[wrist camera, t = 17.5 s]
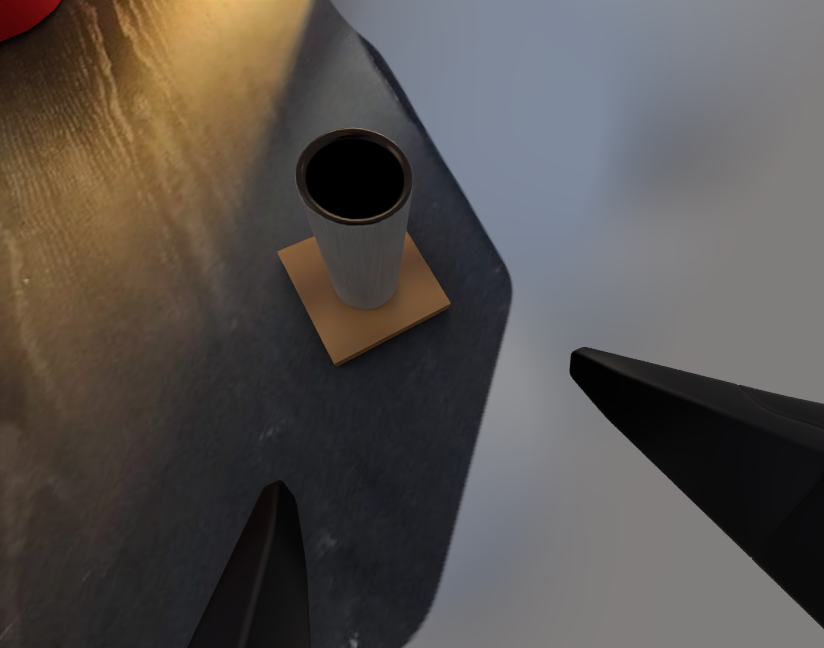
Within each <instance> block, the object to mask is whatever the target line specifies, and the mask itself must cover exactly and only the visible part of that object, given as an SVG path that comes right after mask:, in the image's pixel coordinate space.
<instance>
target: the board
mask: <svg viewBox="0 0 824 648" xmlns="http://www.w3.org/2000/svg"><path fill="white" fill-rule="evenodd" d="M277 253H278V255H279V257H280V259H281V261H282V263H283V265H284V267H285V269H286V271H287V273H288V275H289V276H290V278H291V280H292V282H293V284H294V286H295V288H296V290H297V292H298V294H299V296H300V298H301V300H302V302H303V304H304V306H305V308H306V310H307V312H308V314H309V316H310V318H311V320H312V322H313V324H314V326H315V328H316V330H317V331H318V333H319V335H320V337H321V339H322V341H323V343H324V345H325V347H326V349H327V351H328V353H329V355H330V357H331V359H332V361H333V363H334V364H335V365H336V366H339V365H341V364H343V363H345V362H347V361H349V360H351V359H353V358H355V357H357V356H358V355H360V354H362V353H364V352H366V351H368V350H370V349H372V348H374V347H376V346H377V345H379V344H381V343H383V342H385V341H387V340H389V339H391V338H393V337H395V336H396V335H398V334H400V333H402V332H404V331H406V330H408V329H410V328H412V327H414V326H416V325H417V324H419V323H421V322H423V321H425V320H427V319H429V318H431V317H433V316H435V315H436V314H438V313H440V312H442V311H444V310H446V309H447V308H448V307H449V306H450V304H451V303H450V301H449V300H448V298H447V296H446V295H445V293H444V291H443V290H442V288H441V286H440V285H439V283H438V281H437V280H436V278H435V277H434V275H433V273H432V272H431V270H430V268H429V267H428V265H427V263H426V262H425V260H424V259H423V257H422V255H421V254H420V252H419V250H418V249H417V247H416V245H415V244H414V242H413V241H412V239H411V237H410V236H409V234H408V232H407V231H406V235H405V242H404V248H403V254H402V261H401V267H400V274H399V280H398V285H397V288H396V291H395V293H394V295H393V296H392V298H391V299H390V300H389V301H388V302H387V303H385V304H384V305H382V306H380V307H378V308H375V309H369V310H362V309H356V308H353V307H351V306H349V305H347V304H346V303H344V302H343V301H342V300H341V299H340V298H339V297H338V295H337V293H336V292H335V290H334V288H333V285H332V282H331V280H330V277H329V274H328V272H327V269H326V266H325V264H324V261H323V258H322V255H321V253H320V250H319V247H318V245H317V242H316V239H315V236H314V237H311V238H309V239H306V240H304V241H302V242H299V243H297V244H294V245H292V246H290V247H287V248H285V249H283V250H280V251H278V252H277Z"/></svg>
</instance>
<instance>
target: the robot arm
mask: <svg viewBox="0 0 824 648" xmlns="http://www.w3.org/2000/svg"><path fill="white" fill-rule="evenodd" d="M570 375H571V377H572V378H573V380H574V381H575V382H576V383H577V384H578V386H579V387H580V388H581V389H582V390H583V391H584V393H585V394H586V395H587V396H588V397H589V398H590V400H591V401H592V402H593V403H594V404H595V405H596V406H597V408H598V409H599V410H600V411H601V412H602V413H603V414H604V416H605V417H606V418H607V419H608V420H609V421H610V422H611V423H612V424H613V425H614V426H615V427H617V429H618V430H619V431H620V432H622V433H623V434H624V435H625V436H626V437H627V438H628V439H629V440H630V441H631V442H632V443H633V444H634V445H635V446H636V447H637V448H638V449H639V450H640V451H641V452H642V453H643V454H644V455H645V456H646V457H647V458H648V459H649V460H650V461H651V462H652V463H653V464H655V466H657V467H658V468H659V469H660V470H661V471H662V472H663V473H664V474H665V475H666V476H667V477H668V478H669V479H670V480H671V481H672V482H673V483H674V484H675V485H676V486H677V487H678V488H679V489H680V490H681V491H682V492H683V493H684V494H686V496H687V497H689V498H690V499H691V500H692V501H693V502H694V503H695V504H696V505H697V506H698V507H699V508H700V509H701V510H702V511H703V512H704V513H705V514H706V515H707V516H708V517H709V518H710V519H711V520H712V521H713V522H714V523H715V524H716V525H717V526H718V527H719V528H721V529H722V530H723V531H724V532H725V533H726V534H727V535H728V536H729V537H730V538H731V539H732V540H733V541H734V542H735V543H736V544H737V545H738V546H739V547H740V548H741V549H742V550H743V551H744V552H745V553H746V554H747V555H748V556H749V557H751V558H752V560H753V561H754V562H755V563H756V564H757V565H758V566H759V567H760V568H761V569H763V570H764V571H765V572H766V573H767V574H768V575H769V576H770V577H771V578H772V579H773V580H774V581H775V582H776V583H777V584H778V585H779V586H780V587H781V588H782V589H783V590H784V591H785V592H786V593H787V594H788V595H789V596H790V597H792V599H793V600H795V601H796V602H797V603H798V604H799V605H800V606H801V607H802V608H803V609H804V610H805V611H806V612H807V613H808V614H809V615H810V616H811V617H812V618H813V619H814V620H815V621H816V622H817V623H818V624H819V625H820V626H821V627H822V628H823V629H824V404H821V403H817V402H812V401H807V400H802V399H798V398H793V397H788V396H784V395H779V394H776V393H771V392H767V391H762V390H758V389H754V388H750V387H746V386H742V385H737V384H734V383H730V382H726V381H721V380H718V379H714V378H710V377H705V376H701V375H697V374H693V373H689V372H685V371H681V370H677V369H673V368H669V367H665V366H661V365H657V364H653V363H649V362H645V361H641V360H637V359H632V358H628V357H624V356H620V355H616V354H612V353H608V352H604V351H600V350H596V349H592V348H587V347H582V348H579V349H577V350H575V351H573V352H572V354H571V360H570ZM187 648H311V647H310V626H309V605H308V585H307V569H306V560H305V553H304V547H303V541H302V534H301V528H300V522H299V515H298V509H297V503H296V500H295V497H294V496H293V494H292V493H291V492H290V490H289V489H288V488H287V486H286V485H285V484H284V482H283V481H281V480H278V481H276V482H273V483H271V484H269V485H267V486H265V487H264V488H263V490H262V492H261V494H260V496H259V498H258V500H257V502H256V504H255V506H254V508H253V511H252V513H251V515H250V517H249V519H248V521H247V523H246V525H245V527H244V529H243V532H242V534H241V536H240V538H239V540H238V542H237V544H236V546H235V548H234V550H233V553H232V555H231V557H230V559H229V561H228V563H227V565H226V567H225V569H224V571H223V574H222V576H221V578H220V580H219V582H218V584H217V586H216V588H215V590H214V592H213V595H212V597H211V599H210V601H209V603H208V605H207V607H206V609H205V611H204V613H203V616H202V618H201V620H200V622H199V624H198V626H197V628H196V630H195V632H194V634H193V637H192V639H191V641H190V643H189V645H188V647H187Z"/></svg>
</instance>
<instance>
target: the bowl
mask: <svg viewBox="0 0 824 648" xmlns="http://www.w3.org/2000/svg"><path fill="white" fill-rule="evenodd" d="M60 2H61V0H0V42H1V41H3V40H6V39H8V38H11V37H13V36H16V35H18V34H21V33H23V32H25V31H27V30H29V29H31V28H32V27H34V26H35V25H36V24H38V23H39V22H40V21H42V20H43V19H44V18H45V17H46V16H47V15H49V14H50V13H51V12H52V11H53V10H54V9H55V8H56V7H57V6H58V4H59V3H60Z"/></svg>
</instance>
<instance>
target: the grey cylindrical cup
mask: <svg viewBox="0 0 824 648" xmlns="http://www.w3.org/2000/svg"><path fill="white" fill-rule="evenodd" d="M295 181H296V187H297V190H298V193H299V196H300V199H301V201H302V204H303V207H304V209H305V212H306V215H307V218H308V220H309V223H310V226H311V228H312V231H313V234H314V236H315V239H316V242H317V245H318V247H319V250H320V253H321V255H322V258H323V261H324V264H325V266H326V269H327V272H328V274H329V277H330V280H331V282H332V285H333V288H334V290H335V292H336V293H337V295H338V297H339V298H340V299H341V300H342V301H343V302H344V303H346V304H347V305H349V306H351V307H353V308H356V309H362V310H369V309H375V308H378V307H380V306H382V305H384V304H385V303H387V302H388V301H389V300H390V299H391V298H392V296H393V295H394V293H395V291H396V288H397V285H398V280H399V274H400V267H401V261H402V254H403V248H404V242H405V235H406V229H407V222H408V216H409V210H410V203H411V197H412V190H413V171H412V168H411V165H410V162H409V160H408V158H407V156H406V155H405V153H404V152H403V151H402V150H401V149H400V147H399V146H398V145H396V144H395V143H394V142H393V141H391V140H390V139H389V138H387V137H385V136H383V135H381V134H379V133H377V132H374V131H371V130H367V129H361V128H343V129H337V130H333V131H330V132H327V133H325V134H323V135H321V136H319V137H317V138H316V139H315V140H313V141H312V142H311V143H310V144H309V145H308V146H307V147H306V148H305V149H304V151H303V152H302V154H301V155H300V157H299V159H298V162H297V166H296V171H295Z"/></svg>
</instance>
